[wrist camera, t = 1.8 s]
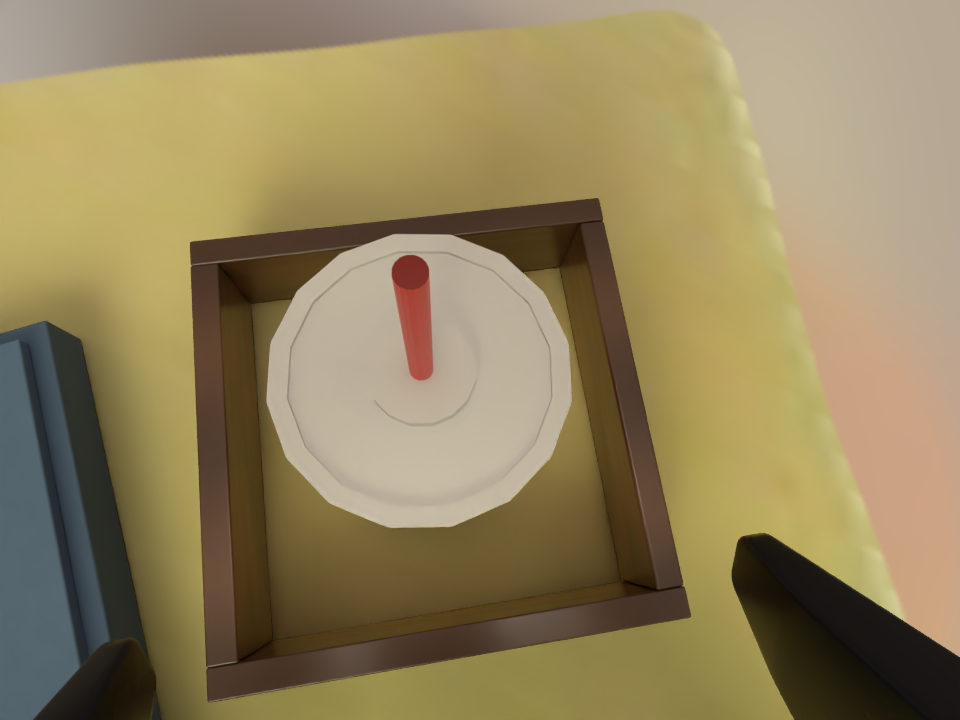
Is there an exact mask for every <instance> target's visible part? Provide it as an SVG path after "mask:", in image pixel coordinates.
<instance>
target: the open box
mask: <svg viewBox="0 0 960 720" xmlns="http://www.w3.org/2000/svg"><path fill="white" fill-rule="evenodd" d="M602 221H603V216H602V211H601V207H600V202H599V199H598V198H594V199H585V200H576V201H566V202H557V203H548V204H538V205H529V206H520V207H510V208H501V209H492V210H483V211H473V212H464V213H455V214H445V215H436V216H427V217H417V218H408V219H399V220H389V221H380V222H371V223H362V224H352V225H343V226H334V227H324V228H315V229H306V230H296V231H287V232H278V233H268V234H259V235H250V236H241V237H231V238H222V239H213V240H203V241H194V242H190V258H191V266H192V267H191V289H192V314H193V339H194V365H195V390H196V415H197V441H198V466H199V491H200V517H201V542H202V568H203V593H204V618H205V644H206V666H207V667H208V669H207V670H206V672H207V697H208V702H216V701H222V700H227V699H233V698H239V697H244V696H250V695H256V694H261V693H267V692H273V691H278V690H284V689H290V688H295V687H301V686H307V685H312V684H318V683H323V682H329V681H335V680H340V679H346V678H352V677H357V676H363V675H369V674H374V673H380V672H386V671H391V670H397V669H403V668H408V667H414V666H420V665H425V664H431V663H437V662H442V661H448V660H453V659H459V658H465V657H470V656H476V655H482V654H487V653H493V652H499V651H504V650H510V649H516V648H521V647H527V646H533V645H538V644H544V643H550V642H555V641H561V640H567V639H572V638H578V637H583V636H589V635H595V634H600V633H606V632H612V631H617V630H623V629H629V628H634V627H640V626H646V625H651V624H657V623H663V622H668V621H674V620H680V619H685V618H690V617H691V613H690V609H689V604H688V600H687V595H686V591H685V588H684V587H683V586H682V585H683V580H682V575H681V571H680V566H679V562H678V557H677V552H676V548H675V543H674V539H673V534H672V530H671V525H670V521H669V516H668V512H667V507H666V503H665V498H664V493H663V489H662V484H661V480H660V475H659V471H658V466H657V462H656V457H655V453H654V448H653V444H652V439H651V434H650V430H649V425H648V421H647V416H646V412H645V407H644V403H643V398H642V394H641V389H640V385H639V380H638V375H637V371H636V366H635V362H634V357H633V353H632V348H631V344H630V339H629V335H628V330H627V326H626V321H625V316H624V312H623V307H622V303H621V298H620V294H619V289H618V285H617V280H616V276H615V271H614V267H613V262H612V258H611V253H610V248H609V244H608V239H607V235H606V230H605V226H604V223H603V222H602ZM393 234H433V235H453V236H455V237H458V238H461V239H463V240H466V241H468V242H471V243H473V244H476V245H479V246H481V247H484V248H486V249H489V250H491V251H494V252H497V253H499V254H502V255H504V256H505V257H506V258H507V259H508V260H509V261H510V262H511V263H512V264H513V265H515V266H516V267H517V268H518V269H519V270H520V271H527V270H536V269H544V268H553V267H560V271H561V276H562V281H563V286H564V291H565V296H566V301H567V306H568V311H569V316H570V321H571V327H572V332H573V337H574V342H575V347H576V352H577V357H578V362H579V367H580V372H581V377H582V382H583V387H584V392H585V397H586V403H587V408H588V413H589V418H590V423H591V428H592V433H593V438H594V443H595V448H596V453H597V458H598V463H599V468H600V473H601V479H602V484H603V489H604V494H605V499H606V504H607V509H608V514H609V519H610V524H611V529H612V534H613V539H614V544H615V549H616V555H617V560H618V565H619V570H620V575H621V579H622V581H624V582H618V583H612V584H606V585H600V586H595V587H589V588H583V589H577V590H571V591H565V592H559V593H553V594H547V595H541V596H535V597H530V598H524V599H518V600H512V601H506V602H500V603H494V604H488V605H482V606H476V607H470V608H465V609H459V610H453V611H447V612H441V613H435V614H429V615H423V616H417V617H411V618H405V619H400V620H394V621H388V622H382V623H376V624H370V625H364V626H358V627H352V628H346V629H340V630H335V631H329V632H323V633H317V634H311V635H305V636H299V637H293V638H287V639H281V640H275V641H272V624H271V609H270V593H269V577H268V562H267V546H266V531H265V515H264V500H263V484H262V468H261V453H260V437H259V422H258V406H257V391H256V375H255V359H254V344H253V328H252V313H251V304H250V303H255V302H264V301H272V300H281V299H289V298H294V296H295V294H296V292H297V291H298V290H299V289H300V288H301V287H302V286H303V285H305V284H306V283H307V282H308V281H309V280H310V279H312V278H313V277H314V276H315V275H316V274H317V273H319V272H320V271H321V270H322V269H323V268H324V267H325V266H327V265H328V264H329V263H330V262H331V261H332V260H334V259H335V258H336V257H337V256H338V255H339V254H340V253H343V252H346V251H349V250H351V249H354V248H357V247H360V246H363V245H365V244H368V243H371V242H374V241H376V240H379V239H382V238H385V237H387V236H390V235H393Z"/></svg>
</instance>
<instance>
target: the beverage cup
mask: <svg viewBox="0 0 960 720" xmlns="http://www.w3.org/2000/svg"><path fill="white" fill-rule="evenodd" d="M571 402H572V391H571V373H570V355H569V343H568V341H567V338H566V336H565V334H564V332H563V330H562V328H561V326H560V324H559V322H558V320H557V318H556V316H555V314H554V312H553V309H552V307H551V305H550V303H549V301H548V299H547V297H546V295H545V293H544V292H543V291H542V290H541V289H540V288H539V287H538V286H536V285H535V284H534V283H533V282H532V281H531V280H530V279H529V278H528V277H527V276H526V275H524V274H523V273H522V272H521V271H520V270H519V269H518V268H517V267H516V266H515V265H513V264H512V263H511V262H510V261H509V260H508V259H507V258H506V257H505V256H504V255H502V254H499V253H497V252H494V251H491V250H489V249H486V248H484V247H481V246H479V245H476V244H473V243H471V242H468V241H466V240H463V239H461V238H458V237H455V236H453V235H433V234H393V235H390V236H387V237H385V238H382V239H379V240H376V241H374V242H371V243H368V244H365V245H363V246H360V247H357V248H354V249H351V250H349V251H346V252H343V253H340V254H339V255H338V256H337V257H336V258H335V259H334V260H332V261H331V262H330V263H329V264H328V265H327V266H325V267H324V268H323V269H322V270H321V271H320V272H319V273H317V274H316V275H315V276H314V277H313V278H312V279H310V280H309V281H308V282H307V283H306V284H305V285H303V286H302V287H301V288H300V289H299V290H298V291H297V292H296V294H295V296H294V298H293V300H292V302H291V304H290V306H289V308H288V310H287V312H286V314H285V315H284V317H283V319H282V321H281V323H280V325H279V327H278V329H277V331H276V333H275V335H274V337H273V339H272V341H271V343H270V356H269V370H268V383H267V397H266V403H267V406H268V408H269V411H270V414H271V417H272V420H273V422H274V425H275V428H276V431H277V434H278V436H279V439H280V442H281V445H282V447H283V450H284V453H285V456H286V459H287V460H288V461H289V462H290V463H291V464H292V465H293V466H294V467H295V468H296V469H297V470H298V471H299V472H300V473H301V474H302V475H303V476H304V477H305V479H306V480H307V481H308V482H309V483H310V484H311V485H312V486H313V487H314V488H315V489H316V490H317V491H318V492H319V493H320V494H321V495H322V496H323V497H324V498H325V499H326V500H327V501H328V503H329V504H332V505H334V506H337V507H339V508H341V509H344V510H346V511H349V512H351V513H354V514H356V515H358V516H361V517H363V518H366V519H368V520H371V521H373V522H375V523H378V524H380V525H383V526H385V527H387V528H418V527H453V526H455V525H458V524H460V523H462V522H464V521H467V520H469V519H471V518H473V517H476V516H478V515H480V514H482V513H484V512H487V511H489V510H491V509H493V508H496V507H498V506H500V505H502V504H505V503H507V502H509V501H511V500H512V498H513V497H514V496H515V495H516V494H517V493H518V492H519V491H520V490H521V489H522V488H523V487H524V486H525V485H526V483H527V482H528V481H529V480H530V479H531V478H532V477H533V476H534V475H535V474H536V473H537V472H538V471H539V470H540V468H541V467H542V466H543V465H544V464H545V463H546V462H547V461H548V460H549V459H550V458H551V457H552V455H553V452H554V449H555V446H556V444H557V441H558V438H559V435H560V432H561V430H562V427H563V424H564V421H565V419H566V416H567V413H568V410H569V408H570V405H571Z"/></svg>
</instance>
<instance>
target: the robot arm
mask: <svg viewBox="0 0 960 720" xmlns="http://www.w3.org/2000/svg"><path fill="white" fill-rule="evenodd" d="M732 582H733V586H734V589H735V591H736V593H737V596H738V598H739V601H740V603H741V605H742V608H743V610H744V612H745V615H746V617H747V619H748V622H749V624H750V627H751V629H752V631H753V634H754V636H755V638H756V641H757V643H758V646H759V648H760V650H761V653H762V655H763V657H764V660H765V662H766V665H767V667H768V669H769V671H770V674H771V676H772V678H773V680H774V682H775V684H776V686H777V688H778V690H779V692H780V694H781V696H782V698H783V700H784V702H785V703H786V705H787V707H788V709H789V711H790V713H791V714H792V716H793V718H794V720H960V657H958V656H957V655H955V654H954V653H952V652H951V651H949V650H948V649H946V648H945V647H943V646H941V645H940V644H938V643H937V642H935V641H934V640H932V639H930V638H929V637H927V636H926V635H924V634H923V633H921V632H920V631H918V630H917V629H915V628H914V627H912V626H910V625H909V624H907V623H906V622H904V621H903V620H901V619H900V618H898V617H897V616H895V615H893V614H892V613H890V612H889V611H887V610H886V609H884V608H883V607H881V606H879V605H878V604H876V603H875V602H873V601H872V600H870V599H869V598H867V597H866V596H864V595H862V594H861V593H859V592H858V591H856V590H855V589H853V588H852V587H850V586H849V585H847V584H845V583H844V582H842V581H841V580H839V579H838V578H836V577H835V576H833V575H831V574H830V573H828V572H827V571H825V570H824V569H822V568H821V567H819V566H818V565H816V564H814V563H813V562H811V561H810V560H808V559H807V558H805V557H804V556H802V555H801V554H799V553H797V552H796V551H794V550H793V549H791V548H790V547H788V546H787V545H785V544H783V543H782V542H780V541H779V540H777V539H776V538H774V537H773V536H771V535H769V534H766V533H758V534H752V535H746V536H742V537H741V538H740V539H739V540H738V543H737V547H736V552H735V557H734V562H733V567H732ZM155 689H156V678H155V673H154V671H153V669H152V667H151V665H150V663H149V661H148V659H147V657H146V655H145V653H144V651H143V649H142V648H141V646H140V644H139V642H138V641H137V640H135V639H134V638H126V639H120V640H114V641H109V642H106V643H104V644H102V645H101V646H99V647H98V648H97V649H96V650H95V651H94V653H93V654H92V655H91V656H90V657H89V658H88V659H87V660H86V661H85V662H84V664H83V665H82V666H81V667H80V668H79V669H78V670H77V671H76V672H75V674H74V675H73V676H72V677H71V678H70V679H69V680H68V681H67V682H66V683H65V685H64V686H63V687H62V688H61V689H60V690H59V691H58V692H57V693H56V694H55V696H54V697H53V698H52V699H51V700H50V701H49V702H48V703H47V704H46V705H45V707H44V708H43V709H42V710H41V711H40V712H39V713H38V714H37V715H36V716H35V718H34V719H33V720H151V717H152V710H153V704H154V697H155Z"/></svg>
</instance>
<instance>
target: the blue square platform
mask: <svg viewBox="0 0 960 720" xmlns="http://www.w3.org/2000/svg"><path fill="white" fill-rule="evenodd" d="M126 638H134V639H135V640H137V641H138V642H139V644H140V646H141V648H142V649H143V651H144V653H145V655H146V657H147V659H148V655H147V651H146V646H145V641H144V637H143V632H142V627H141V622H140V618H139V613H138V608H137V604H136V599H135V594H134V590H133V585H132V580H131V575H130V571H129V566H128V561H127V557H126V552H125V547H124V543H123V538H122V533H121V528H120V524H119V519H118V514H117V510H116V505H115V500H114V496H113V491H112V486H111V481H110V477H109V472H108V467H107V463H106V458H105V453H104V449H103V444H102V439H101V434H100V430H99V425H98V420H97V416H96V411H95V406H94V402H93V397H92V392H91V388H90V383H89V378H88V373H87V369H86V364H85V359H84V355H83V350H82V345H81V341H80V339H79V338H77V337H75V336H73V335H71V334H69V333H68V332H66V331H64V330H62V329H60V328H58V327H56V326H55V325H53V324H51V323H49V322H47V321H43V322H40V323H36V324H33V325H29V326H26V327H22V328H19V329H15V330H12V331H9V332H5V333H2V334H0V720H33V719H34V718H35V716H36V715H37V714H38V713H39V712H40V711H41V710H42V709H43V708H44V707H45V705H46V704H47V703H48V702H49V701H50V700H51V699H52V698H53V697H54V696H55V694H56V693H57V692H58V691H59V690H60V689H61V688H62V687H63V686H64V685H65V683H66V682H67V681H68V680H69V679H70V678H71V677H72V676H73V675H74V674H75V672H76V671H77V670H78V669H79V668H80V667H81V666H82V665H83V664H84V662H85V661H86V660H87V659H88V658H89V657H90V656H91V655H92V654H93V653H94V651H95V650H96V649H97V648H98V647H99V646H101V645H102V644H104V643H106V642H109V641H114V640H120V639H126ZM148 661H149V660H148ZM151 720H161V716H160V712H159V707H158V702H157V698H156V693H155V697H154V704H153V710H152V717H151Z"/></svg>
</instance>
